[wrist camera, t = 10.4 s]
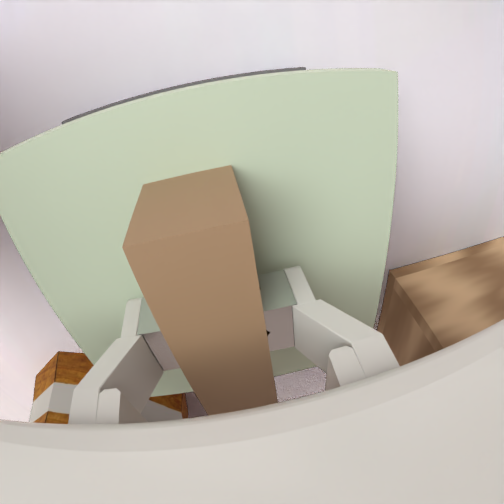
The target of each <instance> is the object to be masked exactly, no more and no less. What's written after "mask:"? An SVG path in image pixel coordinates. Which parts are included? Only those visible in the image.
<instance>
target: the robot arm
mask: <svg viewBox="0 0 504 504" xmlns="http://www.w3.org/2000/svg"><path fill="white" fill-rule="evenodd" d="M258 281H259V288H260V294H261V300H262V306H263V313H264V319H265V325H266V332H267V338H268V344H269V350H270V351H274V350H279V349H284V348H289V347H294V346H295V348H296V349H297V350H299V351H300V352H301V353H302V354H303V355H305V356H306V357H307V358H308V359H309V360H311V361H312V362H313V363H314V364H315V365H317V366H318V367H319V368H320V369H321V370H323V371H324V372H325V373H326V374H327V376H326V385H325V391H323V392H319V393H315V394H311V395H308V396H304V397H300V398H296V399H292V400H287V401H283V402H279V403H274V404H270V405H265V406H260V407H255V408H250V409H245V410H239V411H233V412H228V413H221V414H215V415H208V416H201V417H194V418H185V419H177V420H167V421H156V422H148V421H147V420H146V419H145V418H144V417H143V416H142V415H141V412H142V410H143V409H144V407H145V405H146V403H147V401H148V400H149V398H150V396H151V394H152V392H153V391H154V389H155V387H156V385H157V384H158V382H159V380H160V378H161V376H162V375H163V373H164V372H163V371H166V370H172V369H178V368H180V366H179V365H178V363H177V361H176V359H175V357H174V355H173V354H172V352H171V350H170V348H169V346H168V344H167V342H166V340H165V338H164V336H163V334H162V332H161V331H160V329H159V327H158V325H157V323H156V321H155V319H154V317H153V315H152V312H151V310H150V308H149V306H148V304H147V302H146V300H145V298H144V297H141V298H135V299H129V300H128V302H127V304H126V309H125V315H124V320H123V326H122V332H121V338H118V339H116V340H115V341H114V342H113V343H112V344H111V346H110V347H109V348H108V349H107V350H106V352H105V353H104V354H103V355H102V356H101V357H100V359H99V360H98V361H97V362H96V363H95V365H94V366H93V367H92V368H91V369H90V371H89V372H88V373H87V374H86V375H85V377H84V378H83V379H82V380H81V382H80V383H79V384H78V385H77V386H76V388H75V389H74V391H73V397H72V402H71V408H70V414H69V421H68V424H50V423H34V422H22V421H12V420H3V419H0V504H504V319H503V320H501V321H499V322H497V323H496V324H494V325H492V326H490V327H488V328H486V329H484V330H482V331H480V332H478V333H476V334H474V335H472V336H470V337H468V338H466V339H464V340H462V341H459V342H457V343H455V344H453V345H451V346H448V347H446V348H444V349H442V350H439V351H437V352H435V353H432V354H430V355H428V356H425V357H423V358H420V359H418V360H415V361H413V362H410V363H408V364H405V365H402V366H400V365H399V364H398V362H397V360H396V358H395V356H394V354H393V352H392V350H391V349H390V347H389V345H388V343H387V341H386V340H385V338H384V336H383V334H382V333H380V332H378V331H376V330H375V329H373V328H371V327H369V326H367V325H366V324H364V323H362V322H360V321H359V320H357V319H355V318H353V317H351V316H350V315H348V314H346V313H344V312H342V311H341V310H339V309H337V308H335V307H334V306H332V305H330V304H328V303H326V302H325V301H323V300H321V299H320V300H316V299H315V297H314V295H313V292H312V290H311V288H310V286H309V284H308V281H307V279H306V277H305V275H304V273H303V271H302V269H301V267H300V266H299V265H298V266H294V267H289V268H285V269H283V270H278V271H273V272H269V273H264V274H259V275H258Z"/></svg>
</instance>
